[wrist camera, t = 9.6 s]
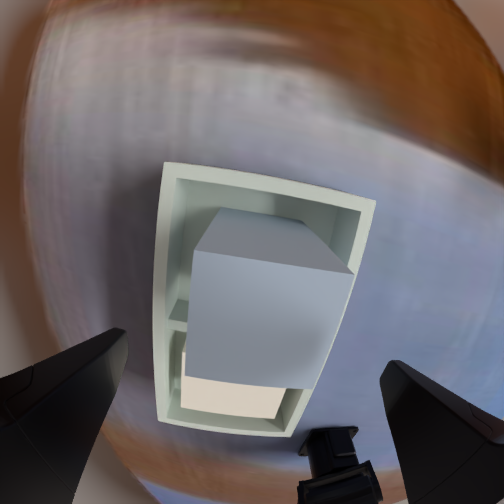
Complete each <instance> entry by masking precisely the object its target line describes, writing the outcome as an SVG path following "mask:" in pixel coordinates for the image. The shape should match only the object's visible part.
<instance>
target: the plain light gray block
mask: <svg viewBox="0 0 504 504" xmlns="http://www.w3.org/2000/svg"><path fill="white" fill-rule="evenodd" d="M354 276H355V274H354V273H353V272H352V271H351V270H350V269H349V268H348V267H347V266H346V265H345V264H344V263H343V262H342V261H341V260H340V259H339V258H338V257H337V256H336V254H335V253H334V252H333V251H332V250H331V249H330V248H329V247H328V246H327V245H326V244H325V243H324V242H323V241H322V240H321V239H320V238H319V237H318V236H317V235H316V234H315V233H314V232H313V231H312V230H311V229H310V228H309V227H308V226H307V225H306V224H305V223H304V222H303V221H301V220H296V219H290V218H285V217H279V216H274V215H268V214H262V213H256V212H250V211H244V210H238V209H231V208H225V207H221V208H220V210H219V211H218V213H217V214H216V216H215V217H214V219H213V221H212V222H211V224H210V225H209V227H208V228H207V230H206V232H205V233H204V235H203V236H202V238H201V239H200V241H199V243H198V244H197V246H196V247H195V249H194V254H193V263H192V273H191V284H190V295H189V308H188V321H187V337H186V355H185V376H189V377H195V378H200V379H206V380H213V381H220V382H227V383H235V384H243V385H252V386H263V387H275V388H292V389H313V387H314V385H315V383H316V380H317V378H318V376H319V373H320V371H321V368H322V366H323V364H324V361H325V359H326V356H327V354H328V351H329V349H330V346H331V343H332V341H333V338H334V336H335V333H336V330H337V327H338V325H339V322H340V319H341V316H342V313H343V310H344V307H345V304H346V301H347V298H348V295H349V292H350V289H351V286H352V283H353V279H354Z"/></svg>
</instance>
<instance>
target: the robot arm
mask: <svg viewBox="0 0 504 504" xmlns="http://www.w3.org/2000/svg"><path fill="white" fill-rule="evenodd" d="M128 353H129V349H128V338H127V332H126V331H125V330H123V329H119V328H112V329H110V330H108V331H106V332H103V333H101V334H99V335H97V336H95V337H93V338H91V339H88V340H86V341H84V342H82V343H80V344H78V345H75V346H73V347H71V348H69V349H67V350H65V351H62V352H60V353H58V354H56V355H54V356H51V357H49V358H47V359H45V360H43V361H41V362H38V363H36V364H34V365H33V366H32V365H31V366H29V367H27V368H25V369H23V370H20V371H18V372H15V373H13V374H11V375H8V376H5V377H2V378H0V504H72V502H73V499H74V496H75V494H74V493H75V492H76V489H77V487H78V484H79V481H80V478H81V475H82V473H83V470H84V468H85V465H86V462H87V460H88V457H89V455H90V452H91V450H92V447H93V445H94V442H95V440H96V437H97V435H98V433H99V430H100V428H101V426H102V423H103V421H104V419H105V417H106V414H107V412H108V410H109V408H110V405H111V403H112V401H113V399H114V396H115V394H116V391H117V388H118V385H119V382H120V379H121V376H122V373H123V370H124V367H125V364H126V361H127V358H128ZM380 387H381V392H382V397H383V402H384V407H385V412H386V417H387V420H388V424H389V427H390V430H391V434H392V437H393V441H394V445H395V448H396V452H397V456H398V460H399V464H400V468H401V472H402V476H403V480H404V485H405V489H406V494H407V499H408V503H409V504H504V421H503V420H501V419H499V418H497V417H495V416H493V415H491V414H489V413H487V412H485V411H483V410H481V409H480V408H478V407H476V406H474V405H473V404H471V403H469V402H467V401H466V400H464V399H463V398H461V397H459V396H458V395H456V394H454V393H453V392H451V391H449V390H448V389H446V388H444V387H443V386H441V385H440V384H438V383H436V382H435V381H433V380H431V379H430V378H428V377H426V376H425V375H423V374H422V373H420V372H418V371H417V370H415V369H413V368H412V367H410V366H409V365H407V364H405V363H404V362H402V361H400V360H391V361H389V362H388V364H387V366H386V368H385V369H384V371H383V373H382V375H381V377H380ZM358 430H359V429H358V427H346V428H330V429H314V430H312V431H311V432H310V434H309V436H308V437H307V439H306V441H305V442H304V444H303V446H302V447H301V449H300V450H299V452H298V455H299V456H308V458H309V463H310V469H311V474H312V479H309V480H305V481H304V480H303V481H299V486H297V492H298V503H297V504H378V503H379V502H381V501H383V496H382V492H381V488H380V485H379V482H378V480H377V477H376V475H375V472H374V470H373V467H372V465H371V462H370V460H368V461H365V462H364V463H361V464H359V462H358V459H357V456H356V450H355V447H354V444H353V441H352V439H353V437H354V436H355V435H356V433H357V432H358Z"/></svg>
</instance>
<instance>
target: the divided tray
mask: <svg viewBox="0 0 504 504" xmlns="http://www.w3.org/2000/svg"><path fill="white" fill-rule="evenodd" d="M375 204H376V201H374V200H371V199H368V198H364V197H361V196H357V195H354V194H350V193H347V192H343V191H339V190H334V189H330V188H326V187H322V186H317V185H313V184H308V183H303V182H299V181H294V180H289V179H284V178H279V177H273V176H268V175H263V174H257V173H251V172H245V171H239V170H233V169H226V168H219V167H212V166H205V165H197V164H189V163H178V162H164V167H163V174H162V181H161V189H160V198H159V207H158V217H157V228H156V240H155V255H154V275H153V359H154V379H155V393H156V405H157V415H158V421H161V422H165V423H170V424H174V425H179V426H184V427H190V428H196V429H202V430H208V431H215V432H223V433H232V434H242V435H254V436H273V437H291V435H292V433H293V431H294V429H295V427H296V425H297V423H298V422H299V420H300V418H301V416H302V413H303V411H304V409H305V407H306V405H307V403H308V401H309V399H310V397H311V395H312V392H313V390H314V388H315V386H316V383H317V381H318V379H319V377H320V374H321V372H322V370H323V367H324V365H325V363H326V360H327V358H328V355H329V353H330V350H331V348H332V345H333V343H334V340H335V337H336V335H337V332H338V329H339V327H340V324H341V321H342V318H343V316H344V313H345V310H346V307H347V304H348V301H349V298H350V295H351V292H352V289H353V286H354V283H355V279H356V276H357V273H358V270H359V266H360V263H361V259H362V256H363V252H364V249H365V245H366V241H367V237H368V234H369V230H370V226H371V222H372V217H373V213H374V209H375ZM221 207H225V208H231V209H238V210H244V211H250V212H256V213H262V214H268V215H274V216H279V217H285V218H290V219H296V220H301V221H303V222H304V223H305V224H306V225H307V226H308V227H309V228H310V229H311V230H312V231H313V232H314V233H315V234H316V235H317V236H318V237H319V238H320V239H321V240H322V241H323V242H324V243H325V244H326V245H327V246H328V247H329V248H330V249H331V250H332V251H333V252H334V253H335V254H336V256H337V257H338V258H339V259H340V260H341V261H342V262H343V263H344V264H345V265H346V266H347V267H348V268H349V269H350V270H351V271H352V272H353V273H354V274H355V276H354V279H353V283H352V286H351V289H350V292H349V295H348V298H347V301H346V304H345V307H344V310H343V313H342V316H341V319H340V322H339V325H338V327H337V330H336V333H335V336H334V338H333V341H332V343H331V346H330V349H329V351H328V354H327V356H326V359H325V361H324V364H323V366H322V368H321V371H320V373H319V376H318V378H317V380H316V383H315V385H314V387H313V389H292V388H286V390H285V393H284V396H283V398H282V401H281V404H280V406H279V409H278V411H277V414H276V416H275V419H270V418H255V417H244V416H234V415H226V414H218V413H211V412H205V411H199V410H193V409H187V408H182V407H181V371H182V351H183V348H184V345H185V342H186V337H187V321H188V308H189V295H190V284H191V273H192V263H193V254H194V249H195V247H196V246H197V244H198V243H199V241H200V239H201V238H202V236H203V235H204V233H205V232H206V230H207V228H208V227H209V225H210V224H211V222H212V221H213V219H214V217H215V216H216V214H217V213H218V211H219V210H220V208H221Z"/></svg>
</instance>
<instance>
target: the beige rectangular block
mask: <svg viewBox="0 0 504 504" xmlns="http://www.w3.org/2000/svg"><path fill="white" fill-rule="evenodd" d="M185 355H186V342H185V345H184V348H183V351H182V371H181V407H182V408H187V409H193V410H199V411H205V412H211V413H218V414H226V415H234V416H244V417H255V418H270V419H275V416H276V414H277V411H278V409H279V406H280V404H281V401H282V398H283V396H284V393H285V390H286V388H275V387H263V386H252V385H243V384H235V383H227V382H220V381H213V380H206V379H200V378H195V377H189V376H185Z"/></svg>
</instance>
